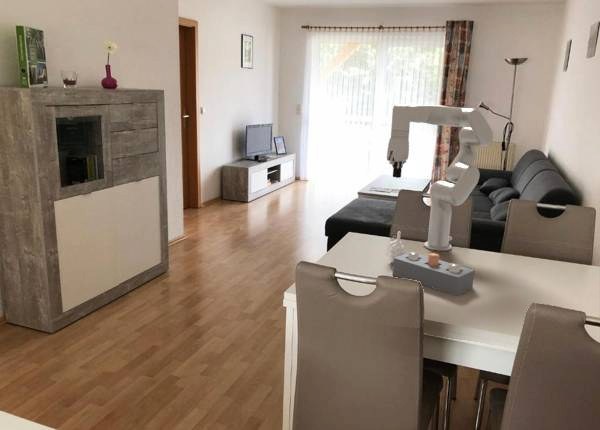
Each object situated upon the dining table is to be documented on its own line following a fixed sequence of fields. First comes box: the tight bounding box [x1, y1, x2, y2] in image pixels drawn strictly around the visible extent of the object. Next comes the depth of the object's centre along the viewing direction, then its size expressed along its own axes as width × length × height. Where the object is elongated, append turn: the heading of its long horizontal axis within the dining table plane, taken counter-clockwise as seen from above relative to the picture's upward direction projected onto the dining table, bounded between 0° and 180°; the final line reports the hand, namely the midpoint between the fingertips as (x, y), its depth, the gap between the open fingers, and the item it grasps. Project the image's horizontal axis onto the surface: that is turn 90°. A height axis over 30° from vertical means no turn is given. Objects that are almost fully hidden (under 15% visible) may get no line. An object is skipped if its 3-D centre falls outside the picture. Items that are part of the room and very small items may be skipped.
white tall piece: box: [386, 230, 406, 264], centre depth 214 cm, size 8×6×14 cm
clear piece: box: [449, 262, 461, 273], centre depth 188 cm, size 4×4×8 cm
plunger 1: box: [407, 251, 420, 261], centre depth 201 cm, size 4×4×8 cm
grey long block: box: [392, 252, 476, 297], centre depth 195 cm, size 12×28×7 cm, turn 44°
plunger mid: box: [427, 252, 440, 267], centre depth 194 cm, size 4×4×8 cm
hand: (396, 177), depth 218 cm, fingers closed
